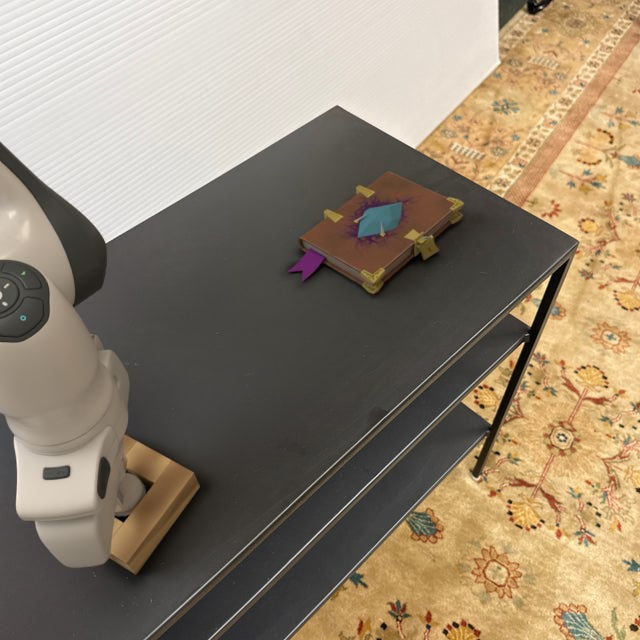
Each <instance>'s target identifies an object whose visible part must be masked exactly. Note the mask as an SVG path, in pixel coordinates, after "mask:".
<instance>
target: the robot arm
mask: <svg viewBox="0 0 640 640" xmlns="http://www.w3.org/2000/svg"><path fill="white" fill-rule="evenodd" d="M107 247H108V246H107V243H106V240H105V238H104V236H103V235H102V233H101V232H100V230H99V229H98V228H97V227H96V226H95V225H94V223H92V221H91V220H90V219H89V218H88V217H87V216H85V214H84V213H82V212H81V211H80V210H79V209H78V208H77V207H75V206H74V205H73V204H71V203H70V201H68V200H67V199H66V198H64V196H63V197H62V195H60V194H59V193H58V192H56V191H55V190H54V189H53V188H52V187H50V186H49V185H48V184H46V183H45V182H44V181H43V180H41V178H40V177H38V175H36V174H35V173H34V172H33V171H32V170H31V169H30V168H29V167H28V166H27V165H26V164H25V163H23V161H21V160H20V159H19V158H18V157H17V156H16V155H15V154H14V153H13V152H12V151H11V150H10V149H9V148H8V147H7V146H6V145H5V144H4V143H3V142H1V141H0V414H2V415H3V416H4V418H5V421H6V423H7V426H8V428H9V430H10V431H11V433H12V434H13V435H14V436H13V448H14V453H15V454H14V455H15V461H16V493H15V494H16V496H15V510H16V513H17V516H18V517H19V518H20V519H21V520H22V521H23V522H34V524H35V530H36V532H37V535H38V537H39V539H40V540H41V542H42V544H43V545H44V547H46V548H47V550H48V551H49V552H50V553H51V554H52V556H53V557H54V558H55V559H56V560H57V561H58V562H59V563H61V564H62V565H63V566H65V567H67V568H70V569H71V568H73V569H77V568H78V569H79V568H90V567H97V566H101V565H104V564H106V562H108V560H109V559H110V558H109V557H110V553H111V543H112V535H113V526H114V518H116V517H115V512H118V511H121V510H122V506H123V497H124V496H123V495H122V493H121V491H120V490H118V483H119V475H120V466H121V458H122V461H123V466H124V469H125V473H126V469H127V461H128V459H127V458H126V456H125V454H124V446H123V441H124V434H125V433H126V431H127V428H128V423H129V409H128V405H129V397H130V389H131V383H130V378H129V377H130V376H129V373H128V371H127V368H125V365H124V363H122V361H121V360H120V358H119V356H118V355H117V354H116V353H115V352H114V351H113V350H112V349H105V348H104V345H103V344H102V341H101V339H100V337H99V336H98V334H94V333H90V331H89V330H88V328H87V325H86V324H85V323H84V320H82V318H81V316H80V315H79V313H78V312H77V310H76V309H75V308H76V307H77V306H79V305H80V304H81V303H83V302H84V301H86V300H87V299H89V298H90V297H92V296H93V295H94V294H96V293H98V292H99V291H100V290H101V289H102V288H103V286H104V282H105V278H106V272H107V264H108V249H107ZM125 435H126V434H125Z"/></svg>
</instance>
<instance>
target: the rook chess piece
mask: <svg viewBox="0 0 640 640" xmlns="http://www.w3.org/2000/svg"><path fill="white" fill-rule="evenodd" d="M118 490H120V491H121V493H122V495H123V496H124V497H123V506H122V510H121V511H118V512H115V516H116V517H127V516H130V514H131V513H132V512H133V510H134V509H135V508H136V506H137V505H138V504H139V503H140V501H141V500H142V499H143V497H144V496H145V495H146V494H147V490H146V487H145V486H144V484H143V483H142V482H141V480H140V479H139V478H138V477H137V476H135V475H132V474H129V473H125V469H124V466H123V461H122V458H121V466H120V475H119V483H118Z"/></svg>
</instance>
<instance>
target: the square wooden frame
mask: <svg viewBox="0 0 640 640" xmlns="http://www.w3.org/2000/svg"><path fill="white" fill-rule="evenodd" d="M123 446H124V454H125V456H126V458H127V459H128V461H127V469H126V473H129V474H132V475H135V476H137V477H138V478H139V479H140V480H141V482H142V483H143V484H144V486H145V489H148V491H146V495H145V496H144V497H143V499H142V500H141V501H140V503H139V504H138V505H137V506H136V508H135V509H134V510H133V512H132V513H131V514H129V515H128V517H127V518H126V519H125V521H124V522H123V521H122V520H120V519H118V518H116V517H115V518H114V526H113V535H112V543H111V553H110V557H109V559H110V560H112V561H113V562H115V563H116V564H118V565H119V566H121V567H123V568H124V569H125V570H127V571H129V572H131V573H132V574H134V575H137V574H139V572H140V571H141V569H142V568H143V566H144V565H145V563H146V562H147V561H148V559H149V558H150V557H151V555H152V554H153V552H154V551H155V549H157V547H158V545H159V544H160V543H161V542H162V540H163V539H164V537H165V536H166V535H167V533H168V532H169V530H170V529H171V527H172V526H173V525H174V523H175V522H176V521H177V519H178V518H179V517H180V515H181V514H182V513H183V511H184V510H185V508H186V507H187V506H188V504H189V503H190V502H191V500H192V498H194V496H195V495H196V493H198V490H200V484H199V481H198V479H197V477H196V474H195V472H194V471H192V470H190V469H188V468H186V467H185V466H183V465H181V464H180V463H177V462H176V461H174V460H172V459H171V458H168V457H166V456H165V455H163V454H161V453H160V452H158V451H156V450H154V449H153V448H150V447H148V446H147V445H145V444H143V443H141V442H140V441H138V440H136V439H134V438H132V437H130V436H129V435H127V434H124V441H123Z"/></svg>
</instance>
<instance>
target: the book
mask: <svg viewBox="0 0 640 640" xmlns="http://www.w3.org/2000/svg"><path fill="white" fill-rule="evenodd" d="M355 191H356V193H355V194H356V195H354V196H353V197H351V198H350V199H348V201H345V203H343V204H342V205H341V206H340V207H338V208H337V209H336V210H334V211H332V210H330V209H328V208H327V209H325V210H324V211H323V217H324V218H323V219H322V220H321V221H320V222H318V223H317V224H316V225H315V226H313V227H311V228H310V230H308V231H306V232H305V233H304V234H303V235H301V236H300V237H299V238H298V239H297V244H298V246H299V248H300V249H301V251H303V252H304V255H303V256H302V258H300V260H299V261H298V262H297V263H296V264H295V265H294V266H293V267H291V268H289V270H287V271H286V272H287V273H291V272H302V274H301V278H302V279H301V282H303V281H305V280H306V279H308V278H310V276H311V275H312V274H313V273H314V272H315V271H316V270H317V269H319V266H321V264H322V263H323V264H325V265H326V266H328V267H330V268H332V269H333V270H335V271H337V272H338V273H340V274H342V275H344V276H345V277H347V278H348V279H350V280H352V281H353V282H355V283H357V284H359V285H360V286H362V288H363V289H365V290H366V292H368V293H370V294H373V295H374V294H376V293H378V292H380V290H381V288H382V287H383V285H384V283H385V282H387V280H389V279H390V278H391V277H392V276H393V275H394V274H395V273H397V272H398V271H399V270H400V269H401V268H403V267H404V266H405V265H406V264H407V263H408V262H410V261H411V260H412V259H413V258H414V257H416V256H418V255H419V254H421V258H422V260H423V261H425V260H427V259H429V258H431V256H433V255H435V254H436V253H438V252H439V251H440V249H439V248H438V246H437V245H436V242H435V239H436V238H437V237H438V236H439V235H440V234H442V233H443V232H444V231H445V230H446V229H447V228H448V227H449V226H450V225H453V224H455V223H457V222H459V221H460V220H461V219H462V218H463V216H464V214H463V213H461V212H460V211H459V210H461V209H462V208H463V206H464V205H465V202H463V201H462V200H461V199H458V198H454V197H452V196H449V197H447V196H444V195H442V194H440V193H438V192H437V191H433V190H431V189H429V188H427V187H424V186H422V185H420V184H418V183H417V182H414V181H411V180H409V179H407V178H405V177H402V176H400V175H398V174H396V173H394V172H391V171H389V170H387V171H386V172H385V173H383V174H382V175H380V176H379V177H378V178H376V179H375V180H374V181H373V182H371V183H370V184H369V185H367V186H366V187H364V186H362V185H360V184H359V185H358V186H356V187H355Z"/></svg>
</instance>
